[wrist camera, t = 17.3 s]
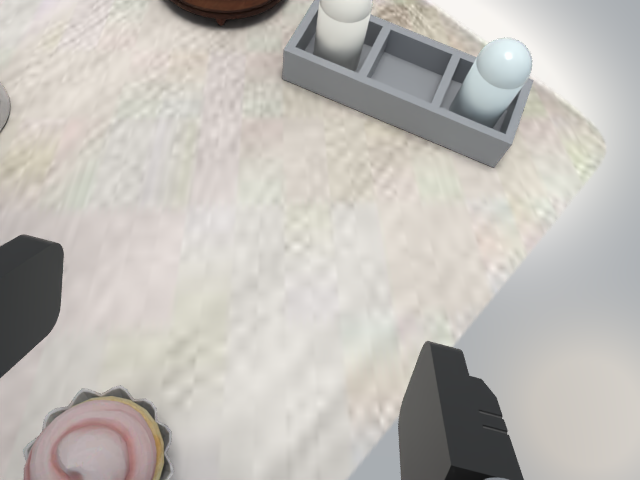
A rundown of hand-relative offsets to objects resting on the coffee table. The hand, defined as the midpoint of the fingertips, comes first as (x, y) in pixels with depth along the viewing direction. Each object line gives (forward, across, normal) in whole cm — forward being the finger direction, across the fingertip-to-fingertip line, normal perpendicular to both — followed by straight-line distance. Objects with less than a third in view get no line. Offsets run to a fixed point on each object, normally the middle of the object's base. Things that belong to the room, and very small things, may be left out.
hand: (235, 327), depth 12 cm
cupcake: (+18, +9, +25) cm, 32 cm away
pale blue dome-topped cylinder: (+44, -12, -2) cm, 45 cm away
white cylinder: (+45, +2, -3) cm, 46 cm away
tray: (+45, -5, -2) cm, 46 cm away
